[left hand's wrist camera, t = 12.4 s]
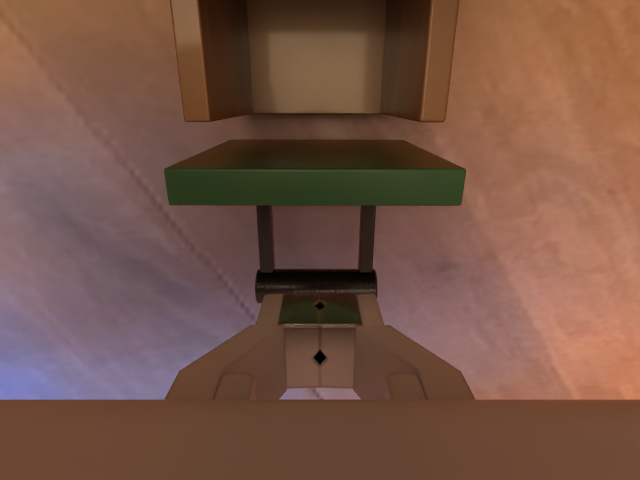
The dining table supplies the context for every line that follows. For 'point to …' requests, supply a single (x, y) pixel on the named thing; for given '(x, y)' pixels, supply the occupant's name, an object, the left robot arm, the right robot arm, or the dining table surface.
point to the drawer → (315, 98)
